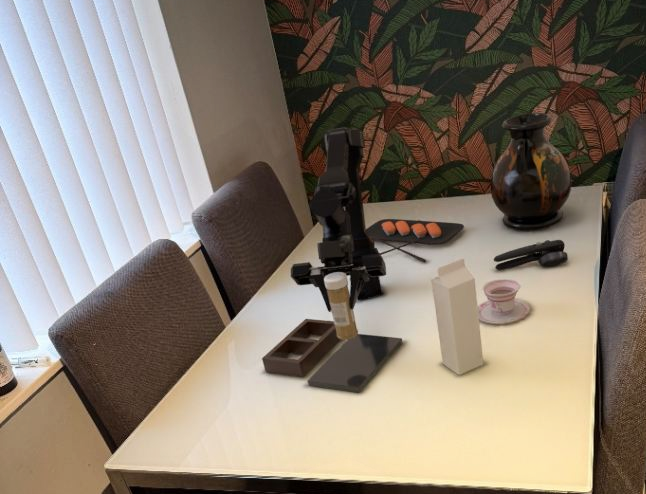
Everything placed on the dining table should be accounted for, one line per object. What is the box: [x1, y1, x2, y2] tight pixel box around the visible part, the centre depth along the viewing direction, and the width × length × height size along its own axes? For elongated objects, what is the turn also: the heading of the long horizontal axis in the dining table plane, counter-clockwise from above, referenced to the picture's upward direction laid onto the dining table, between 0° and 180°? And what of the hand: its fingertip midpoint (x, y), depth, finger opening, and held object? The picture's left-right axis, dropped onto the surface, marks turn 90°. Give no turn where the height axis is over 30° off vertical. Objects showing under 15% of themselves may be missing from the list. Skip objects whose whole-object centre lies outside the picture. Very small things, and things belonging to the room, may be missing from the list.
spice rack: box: [261, 318, 341, 378], centre depth 166 cm, size 18×10×4 cm, turn 153°
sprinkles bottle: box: [324, 272, 359, 341], centre depth 153 cm, size 5×5×14 cm
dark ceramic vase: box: [490, 112, 572, 232], centre depth 205 cm, size 22×22×28 cm
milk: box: [430, 258, 484, 376], centre depth 147 cm, size 6×6×22 cm
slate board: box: [307, 333, 404, 393], centre depth 159 cm, size 20×12×1 cm, turn 153°
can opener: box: [493, 239, 569, 271], centre depth 186 cm, size 18×7×6 cm, turn 88°
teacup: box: [478, 278, 531, 325], centre depth 167 cm, size 12×12×6 cm
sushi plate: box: [366, 218, 465, 263], centre depth 211 cm, size 29×30×4 cm
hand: (340, 310), depth 152 cm, fingers closed on sprinkles bottle, 4 cm apart
